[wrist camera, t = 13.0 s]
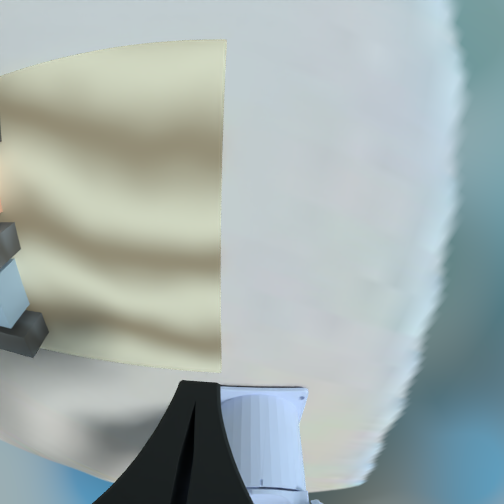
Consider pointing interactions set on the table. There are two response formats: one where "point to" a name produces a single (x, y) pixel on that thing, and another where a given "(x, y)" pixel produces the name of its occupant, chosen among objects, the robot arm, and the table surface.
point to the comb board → (116, 203)
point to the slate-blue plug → (11, 295)
